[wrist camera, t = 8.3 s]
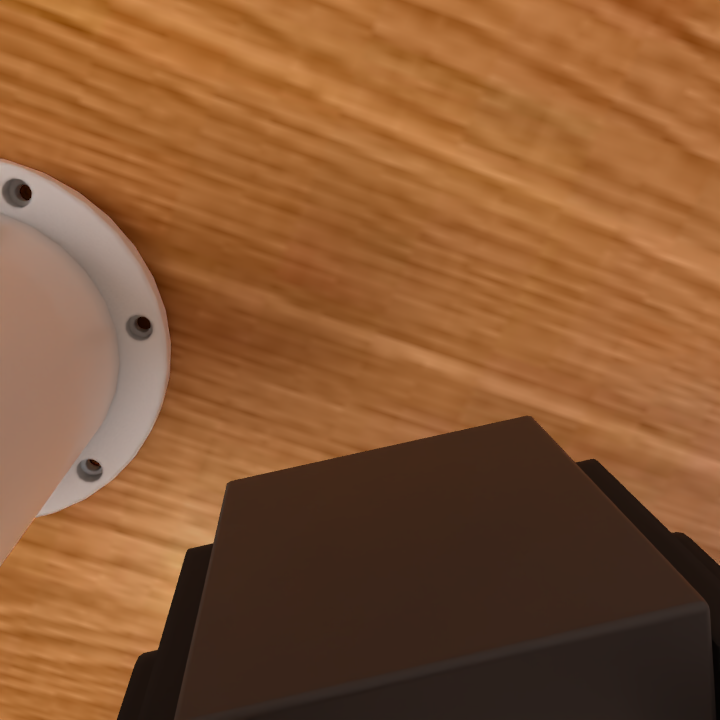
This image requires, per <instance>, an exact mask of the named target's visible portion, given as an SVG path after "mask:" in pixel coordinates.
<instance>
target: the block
mask: <svg viewBox="0 0 720 720" xmlns="http://www.w3.org/2000/svg"><path fill="white" fill-rule="evenodd" d="M174 720H716V705H715V688H714V671H713V654H712V637H711V620H710V609H709V606H708V604H707V602H706V601H705V599H704V598H703V597H702V596H701V595H700V594H699V593H698V592H697V591H696V590H695V589H694V588H693V587H692V586H691V585H690V584H689V583H688V581H687V580H686V579H685V578H684V577H683V576H682V575H681V574H680V573H679V572H678V571H677V570H676V569H675V568H674V567H673V566H672V565H671V563H670V562H669V561H668V560H667V559H666V558H665V557H664V556H663V555H662V554H661V553H660V552H659V551H658V550H657V549H656V548H655V547H654V545H653V544H652V543H651V542H650V541H649V540H648V539H647V538H646V537H645V536H644V535H643V534H642V533H641V532H640V531H639V530H638V529H637V528H636V526H635V525H634V524H633V523H632V522H631V521H630V520H629V519H628V518H627V517H626V516H625V515H624V514H623V513H622V512H621V511H620V510H619V508H618V507H617V506H616V505H615V504H614V503H613V502H612V501H611V500H610V499H609V498H608V497H607V496H606V495H605V494H604V493H603V492H602V491H601V489H600V488H599V487H598V486H597V485H596V484H595V483H594V482H593V481H592V480H591V479H590V478H589V477H588V476H587V475H586V474H585V473H584V471H583V470H582V469H581V468H580V467H579V466H578V465H577V464H576V463H575V462H574V461H573V460H572V459H571V458H570V457H569V456H568V455H567V454H566V452H565V451H564V450H563V449H562V448H561V447H560V446H559V445H558V444H557V443H556V442H555V441H554V440H553V439H552V438H551V437H550V436H549V434H548V433H547V432H546V431H545V430H544V429H543V428H542V427H541V426H540V425H539V424H538V423H537V422H536V421H535V420H534V419H533V418H532V416H523V417H519V418H514V419H510V420H505V421H501V422H496V423H492V424H487V425H483V426H478V427H474V428H469V429H465V430H460V431H455V432H451V433H446V434H442V435H437V436H433V437H428V438H424V439H419V440H415V441H410V442H406V443H401V444H397V445H392V446H388V447H383V448H379V449H374V450H370V451H365V452H360V453H356V454H351V455H347V456H342V457H338V458H333V459H329V460H324V461H320V462H315V463H311V464H306V465H302V466H297V467H293V468H288V469H284V470H279V471H274V472H270V473H265V474H261V475H256V476H252V477H247V478H243V479H238V480H234V481H230V482H229V483H227V486H226V490H225V495H224V499H223V503H222V508H221V512H220V517H219V521H218V526H217V530H216V535H215V539H214V544H213V548H212V552H211V557H210V561H209V566H208V570H207V575H206V579H205V584H204V588H203V593H202V597H201V601H200V606H199V610H198V615H197V619H196V624H195V628H194V633H193V637H192V642H191V646H190V650H189V655H188V659H187V664H186V668H185V673H184V677H183V682H182V686H181V691H180V695H179V699H178V704H177V708H176V713H175V717H174Z"/></svg>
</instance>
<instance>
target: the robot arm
mask: <svg viewBox="0 0 720 720" xmlns="http://www.w3.org/2000/svg"><path fill="white" fill-rule="evenodd" d="M24 184H26V185H27V186H29V187H30V189H31V191H32V197H31V199H30V200H25V199H24V198H22V196H21V195H20V188H21V186H22V185H24ZM139 317H146V318H147V319H149V321H150V323H151V326H150V328H149V329H142V328H141V327H139V325H138V324H137V319H138V318H139ZM170 360H171V340H170V334H169V327H168V321H167V315H166V310H165V307H164V304H163V302H162V299H161V296H160V293H159V291H158V288H157V285H156V283H155V280H154V277H153V276H152V274H151V272H150V271H149V269H148V267H147V266H146V264H145V262H144V261H143V259H142V257H141V255H140V254H139V252H138V250H137V249H136V247H135V246H134V244H133V243H132V242H131V241H130V240H129V239H128V238H127V236H126V235H125V234H124V233H123V232H122V231H121V229H120V228H119V227H118V226H117V225H116V224H115V223H114V221H113V220H112V219H111V218H110V217H109V216H108V215H107V214H105V213H104V212H103V211H102V210H100V209H99V208H98V207H97V206H95V205H94V204H93V203H92V202H90V201H89V200H88V199H87V198H86V197H84V196H83V195H82V194H81V193H79V192H78V191H76V190H74V189H72V188H70V187H69V186H67V185H65V184H63V183H62V182H60V181H58V180H56V179H54V178H53V177H51V176H49V175H47V174H45V173H43V172H41V171H38V170H35V169H32V168H29V167H26V166H23V165H20V164H18V163H15V162H12V161H9V160H6V159H1V158H0V566H1V565H2V563H3V562H4V561H5V559H6V558H7V556H8V555H9V554H10V552H11V551H12V549H13V548H14V547H15V545H16V544H17V542H18V541H19V540H20V538H21V537H22V535H23V534H24V533H25V531H26V530H27V528H28V527H29V525H30V524H31V523H32V521H33V520H34V518H36V517H40V516H44V515H48V514H52V513H56V512H58V511H60V510H62V509H65V508H67V507H69V506H71V505H73V504H76V503H78V502H80V501H82V500H84V499H86V498H88V497H89V496H91V495H92V494H94V493H95V492H96V491H98V490H99V489H101V488H102V487H104V486H105V485H106V484H108V483H109V482H111V481H112V480H113V479H114V478H115V477H116V476H117V475H118V474H119V473H120V472H121V471H122V470H123V469H124V468H125V467H126V466H127V465H128V464H129V462H130V461H131V460H132V459H133V458H134V457H135V456H136V454H137V453H138V451H139V449H140V448H141V446H142V445H143V443H144V441H145V440H146V438H147V437H148V435H149V433H150V432H151V430H152V428H153V426H154V424H155V422H156V419H157V417H158V415H159V413H160V411H161V408H162V405H163V401H164V397H165V394H166V390H167V386H168V382H169V378H170ZM89 459H93V460H95V461H97V462H98V463H99V464H100V465H99V466H95V465H93V464H91V462H90V461H89ZM576 464H577V465H578V466H579V467H580V468H581V469H582V470H583V471H584V473H585V474H586V475H587V476H588V477H589V478H590V479H591V480H592V481H593V482H594V483H595V484H596V485H597V486H598V487H599V488H600V489H601V491H602V492H603V493H604V494H605V495H606V496H607V497H608V498H609V499H610V500H611V501H612V502H613V503H614V504H615V505H616V506H617V507H618V508H619V510H620V511H621V512H622V513H623V514H624V515H625V516H626V517H627V518H628V519H629V520H630V521H631V522H632V523H633V524H634V525H635V526H636V528H637V529H638V530H639V531H640V532H641V533H642V534H643V535H644V536H645V537H646V538H647V539H648V540H649V541H650V542H651V543H652V544H653V545H654V547H655V548H656V549H657V550H658V551H659V552H660V553H661V554H662V555H663V556H664V557H665V558H666V559H667V560H668V561H669V562H670V563H671V565H672V566H673V567H674V568H675V569H676V570H677V571H678V572H679V573H680V574H681V575H682V576H683V577H684V578H685V579H686V580H687V581H688V583H689V584H690V585H691V586H692V587H693V588H694V589H695V590H696V591H697V592H698V593H699V594H700V595H701V596H702V597H703V598H704V599H705V601H706V602H707V604H708V606H709V609H710V620H711V637H712V654H713V671H714V688H715V705H716V720H720V566H719V565H718V564H717V563H716V562H715V561H714V560H713V559H712V558H711V557H710V556H709V555H708V554H707V553H706V552H704V551H703V550H702V549H701V548H700V547H699V546H698V545H697V544H696V543H695V542H694V541H693V540H692V539H691V538H689V537H688V536H686V535H685V534H684V533H679V532H675V533H671V532H670V531H669V530H668V529H667V528H666V527H665V526H664V525H663V524H662V523H661V522H660V521H659V520H658V519H657V518H656V517H655V516H654V515H652V514H651V513H650V512H649V511H648V510H647V509H646V508H645V507H644V506H643V505H642V504H641V503H640V502H639V501H638V500H637V499H636V498H635V497H634V496H633V495H632V494H631V493H630V492H629V491H628V490H627V489H626V488H625V487H624V486H623V485H622V484H621V483H620V482H619V481H618V480H617V479H616V478H615V477H614V476H613V475H612V474H610V473H609V472H608V471H607V470H606V469H605V468H604V467H603V466H602V465H601V464H600V463H599V462H598V461H597V460H595V459H590V460H585V461H581V462H576ZM213 544H214V543H213ZM213 544H209V545H204V546H200V547H195V548H191V549H188V550H187V552H186V555H185V559H184V562H183V565H182V569H181V572H180V576H179V579H178V583H177V586H176V590H175V593H174V596H173V600H172V603H171V607H170V610H169V614H168V617H167V620H166V624H165V627H164V631H163V634H162V638H161V641H160V645H159V648H158V650H156V651H151V652H147V653H143V654H142V655H141V656H139V657H138V660H137V662H136V664H135V666H134V669H133V672H132V675H131V678H130V681H129V684H128V687H127V690H126V693H125V696H124V699H123V703H122V706H121V709H120V712H119V715H118V718H117V720H174V717H175V713H176V708H177V704H178V699H179V695H180V691H181V686H182V682H183V677H184V673H185V668H186V664H187V659H188V655H189V650H190V646H191V642H192V637H193V633H194V628H195V624H196V619H197V615H198V610H199V606H200V601H201V597H202V593H203V588H204V584H205V579H206V575H207V570H208V566H209V561H210V557H211V552H212V548H213Z"/></svg>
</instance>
